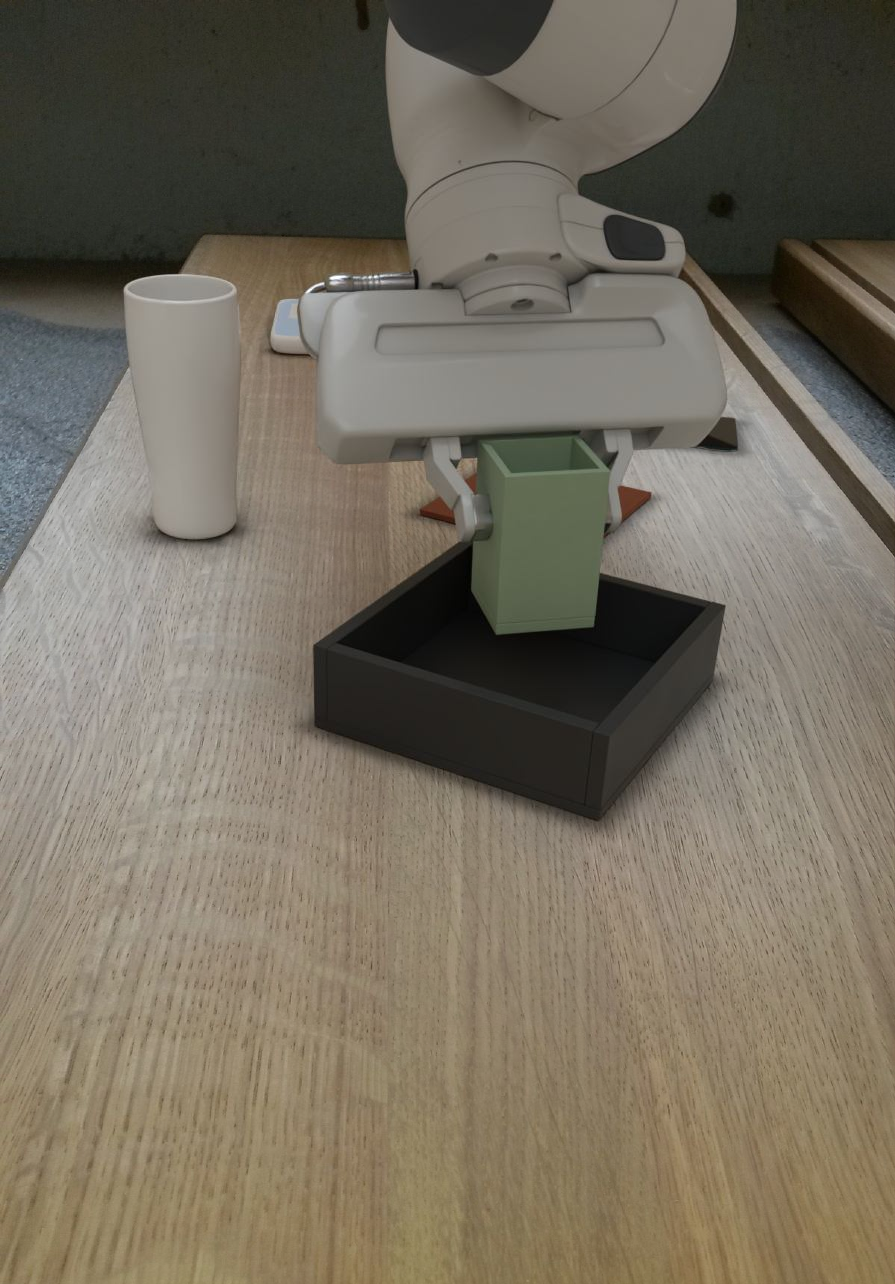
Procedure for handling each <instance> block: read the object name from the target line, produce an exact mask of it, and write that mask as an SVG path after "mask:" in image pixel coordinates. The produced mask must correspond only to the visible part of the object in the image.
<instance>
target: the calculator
mask: <svg viewBox="0 0 895 1284" xmlns="http://www.w3.org/2000/svg"><path fill="white" fill-rule="evenodd" d="M299 299H300V298H285V299H281V300H279V301H278V302H277V305H276V309H275V314H274V318H273V322H272V326H271V330H270V335H269V337H270V339H269V340H270V346H271V348H272V349H273V351H275V352H277V353H281V354H287V355H288V354H290V355H310V354H309V353H308V352H307V351H306V349H305V348H304V346H303V344H302V342H301V339H300V333H299V325H298V317H297V306H298V302H299Z"/></svg>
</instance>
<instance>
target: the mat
mask: <svg viewBox="0 0 895 1284" xmlns="http://www.w3.org/2000/svg"><path fill="white" fill-rule="evenodd" d="M476 476H477V472H475V473H474V474H473V475H471V476H470V477H468V478H466V479H464V481H465V482H466V483H467V485H468V486H469V487H470V489H471V490H472V492H473V493H474V495H476ZM618 494H619V500H620V506H621V512H622V520H621V523H623V522H624V521H625V520H626V519H627V518H628V517H630V516H631V515H632V514H633V513H634V512H635V511H637V510H638V509H640V508H641V506H643V505H644V504H645V503H646V502H647V501H649V500H650V499H651V498H652V492H651V491H647V490H643V489H639V488H634V487H630V486H626V485H620V487H619V488H618ZM419 515H420V516H425V517H428V518H432V519H436V520H439V521H444V522H447V523H452V524H455V525H456V523H455V516H454V510H451V509H450V508H449V507H448V506H447V505H446V503H445V502H444V501H443V500H442V498H441V497H440V496H438V497H436V498H435V499H433V500H431V501H430V502H429V503H427V504H426V505H424V506H423V507H421V508H420V509H419ZM608 534H609V533H604V537H603V538H605V537H606V536H607V535H608Z"/></svg>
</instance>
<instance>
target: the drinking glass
mask: <svg viewBox="0 0 895 1284" xmlns="http://www.w3.org/2000/svg"><path fill="white" fill-rule="evenodd" d="M122 292H123V310H124V311H123V312H124V313H123V315H124V329H125V339H126V340H125V341H126V350H127V358H128V364H129V365H128V366H129V372H130V378H131V383H132V388H133V395H134V400H135V406H136V410H137V416H138V422H139V428H140V429H139V430H140V433H141V440H142V445H143V451H144V452H143V453H144V457H145V462H146V463H145V464H146V468H147V475H148V481H149V488H150V494H151V503H152V514H153V515H152V516H153V522H154V523H155V526H156V527H157V528H158V529H159V531H161V532H162V533H163V534H165V535H168V536H170V537H173V538H177V539H183V540H206V539H213V538H216V537H219V536H222V535H224V534H226V533H229V532H230V531H231V530H232V529H233V528H234V527H235V525H236V524H237V520H238V497H237V486H238V485H237V484H238V457H239V456H238V455H239V452H238V451H239V432H240V431H239V430H240V429H239V428H240V427H239V426H240V404H241V382H242V381H241V380H242V334H241V319H240V308H239V297H238V289H237V286H236V285H235V284H234V283H232V282H230V281H229V280H226V279H223V278H219V277H214V276H210V275H209V276H208V275H201V274H189V273H188V274H186V273H184V274H183V273H177V274H176V273H174V274H173V273H172V274H171V273H170V274H158V275H151V276H145V277H140V278H137V279H134V280H132V281H130V282H128V283H127V284H125V285H124V287H123V291H122Z"/></svg>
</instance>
